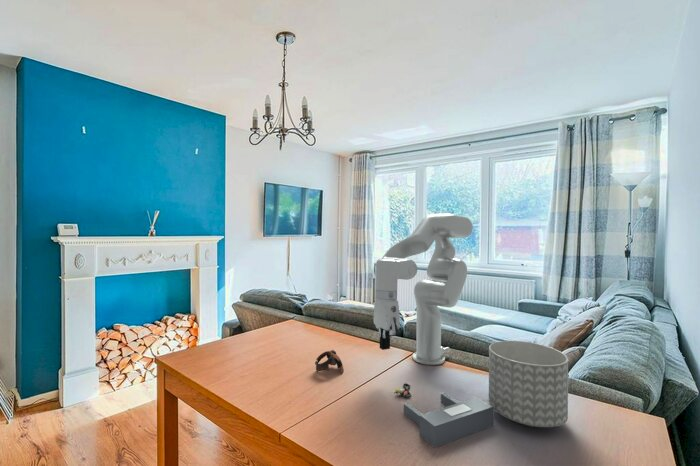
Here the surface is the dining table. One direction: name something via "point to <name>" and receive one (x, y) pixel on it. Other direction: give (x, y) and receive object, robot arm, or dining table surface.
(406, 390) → the composite cable
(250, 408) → the dining table surface
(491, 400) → the planter
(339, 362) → the pottery mug
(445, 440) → the dock
